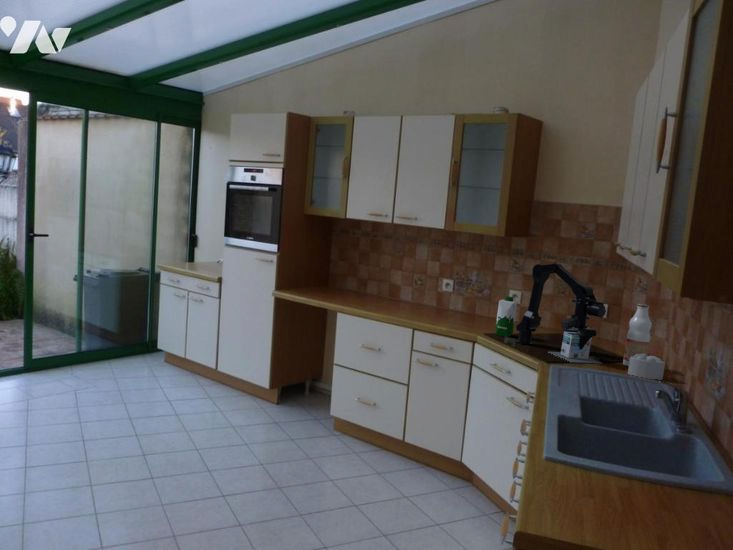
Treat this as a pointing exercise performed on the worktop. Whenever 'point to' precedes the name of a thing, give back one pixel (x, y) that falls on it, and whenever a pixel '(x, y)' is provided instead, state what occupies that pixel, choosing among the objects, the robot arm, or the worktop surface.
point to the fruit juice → (638, 334)
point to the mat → (574, 360)
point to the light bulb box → (574, 346)
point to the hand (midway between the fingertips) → (575, 347)
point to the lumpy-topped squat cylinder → (646, 366)
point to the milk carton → (506, 317)
